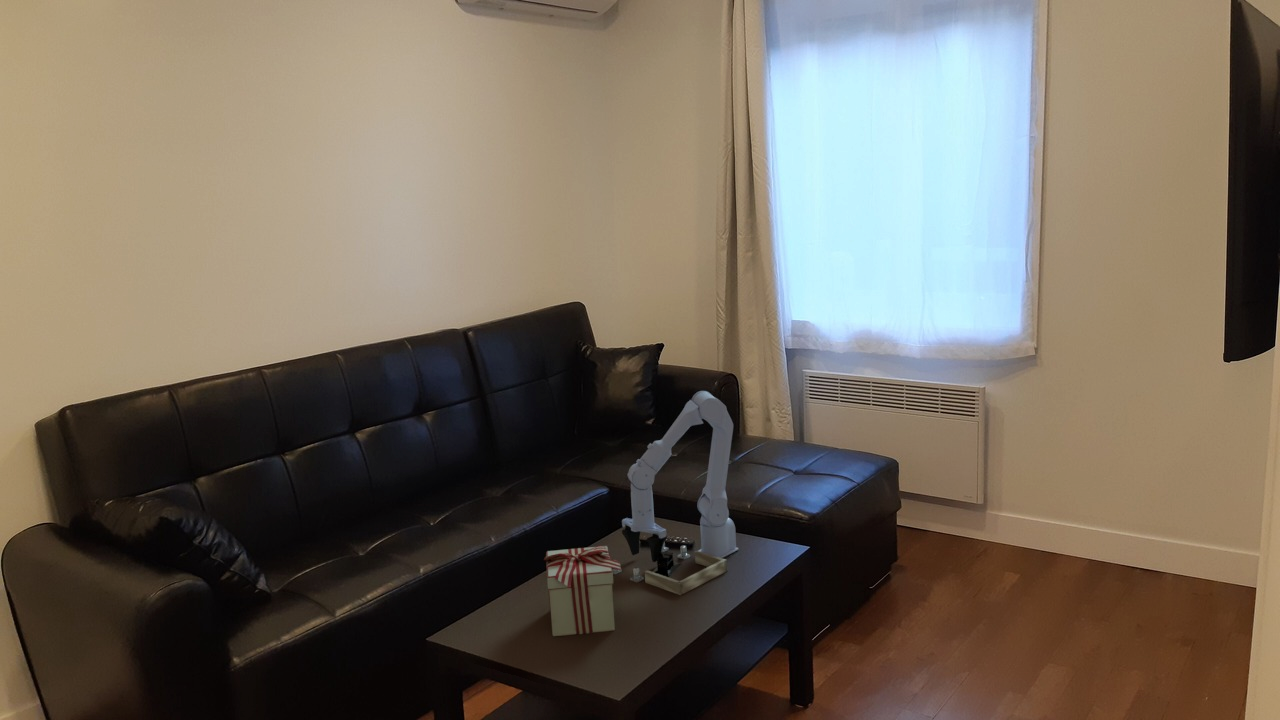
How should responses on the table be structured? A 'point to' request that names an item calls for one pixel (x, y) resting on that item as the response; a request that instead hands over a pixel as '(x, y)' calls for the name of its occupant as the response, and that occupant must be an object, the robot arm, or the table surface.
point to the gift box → (581, 590)
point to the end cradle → (680, 587)
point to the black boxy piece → (666, 564)
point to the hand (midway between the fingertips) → (645, 557)
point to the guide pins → (683, 551)
